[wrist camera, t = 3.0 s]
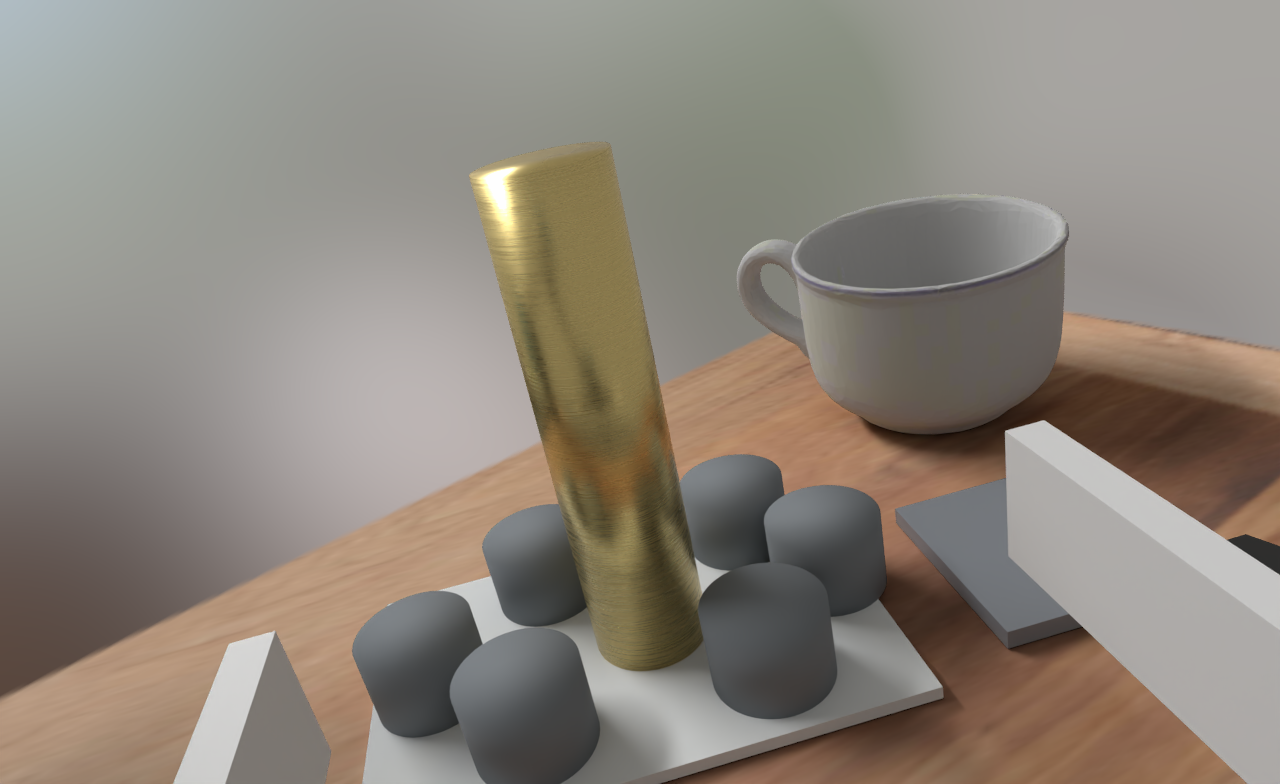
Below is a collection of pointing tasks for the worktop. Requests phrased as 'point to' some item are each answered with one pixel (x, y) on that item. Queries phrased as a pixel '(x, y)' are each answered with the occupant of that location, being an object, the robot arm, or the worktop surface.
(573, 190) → the cylinder
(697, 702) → the mat
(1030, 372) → the teacup
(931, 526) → the slate coaster
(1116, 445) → the worktop surface
